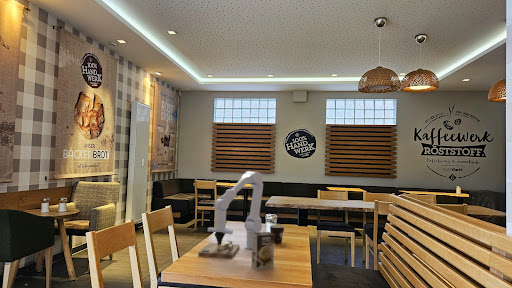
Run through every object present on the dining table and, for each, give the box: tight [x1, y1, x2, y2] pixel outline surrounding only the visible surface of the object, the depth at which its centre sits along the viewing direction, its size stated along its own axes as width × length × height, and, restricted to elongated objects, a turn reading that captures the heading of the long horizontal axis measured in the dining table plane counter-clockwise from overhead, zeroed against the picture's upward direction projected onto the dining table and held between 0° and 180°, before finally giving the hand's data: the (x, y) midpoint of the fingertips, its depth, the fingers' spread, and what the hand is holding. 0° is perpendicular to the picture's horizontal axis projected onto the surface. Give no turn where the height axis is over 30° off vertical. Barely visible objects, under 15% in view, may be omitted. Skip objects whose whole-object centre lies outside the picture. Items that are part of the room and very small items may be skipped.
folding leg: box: [217, 240, 233, 251], centre depth 192 cm, size 12×3×3 cm, turn 154°
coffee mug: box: [269, 224, 285, 245], centre depth 216 cm, size 12×9×10 cm
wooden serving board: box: [198, 242, 240, 259], centre depth 191 cm, size 18×20×4 cm
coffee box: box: [251, 231, 275, 271], centre depth 167 cm, size 9×6×16 cm
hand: (219, 246), depth 190 cm, fingers closed, pressing on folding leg
